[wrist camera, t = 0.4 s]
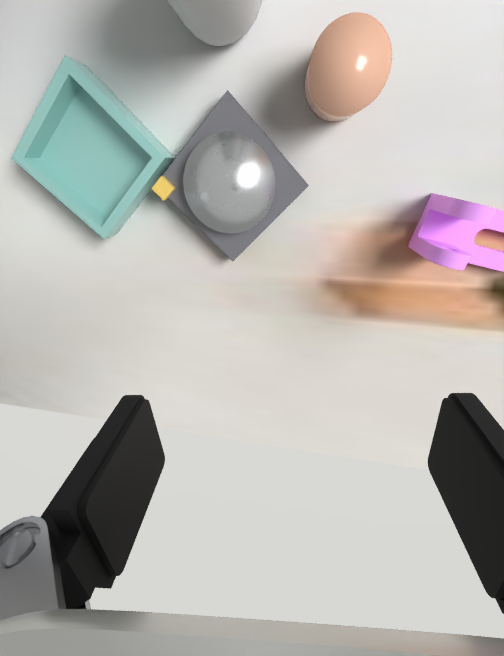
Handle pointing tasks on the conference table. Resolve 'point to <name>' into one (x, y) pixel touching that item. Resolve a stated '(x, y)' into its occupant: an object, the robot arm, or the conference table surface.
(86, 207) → the trough
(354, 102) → the peach rounded knob
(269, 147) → the base
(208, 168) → the checker pad
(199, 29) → the can
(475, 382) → the conference table surface
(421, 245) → the bracket
